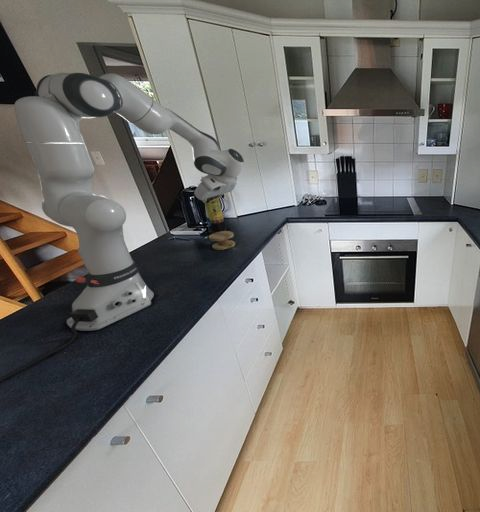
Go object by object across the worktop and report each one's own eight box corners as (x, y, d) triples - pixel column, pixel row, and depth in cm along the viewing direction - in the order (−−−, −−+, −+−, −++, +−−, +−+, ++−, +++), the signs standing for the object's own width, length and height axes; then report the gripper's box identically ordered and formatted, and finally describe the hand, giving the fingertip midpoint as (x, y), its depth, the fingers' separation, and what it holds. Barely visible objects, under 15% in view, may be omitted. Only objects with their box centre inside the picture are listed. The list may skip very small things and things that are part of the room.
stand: (224, 251, 136) (221, 239, 133) (206, 248, 139) (203, 237, 136) (240, 242, 146) (237, 232, 143) (223, 240, 148) (220, 230, 145)
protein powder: (223, 223, 174) (210, 175, 161) (230, 234, 156) (216, 181, 143) (206, 226, 169) (191, 176, 155) (211, 238, 151) (195, 183, 138)
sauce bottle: (218, 224, 133) (206, 183, 124) (207, 223, 134) (194, 182, 125) (227, 220, 138) (216, 180, 130) (217, 219, 140) (205, 180, 131)
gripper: (233, 171, 133) (221, 190, 140) (198, 178, 116) (186, 199, 122) (243, 181, 134) (231, 199, 141) (209, 189, 117) (197, 210, 123)
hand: (210, 199), depth 131 cm, fingers closed on sauce bottle, 6 cm apart
